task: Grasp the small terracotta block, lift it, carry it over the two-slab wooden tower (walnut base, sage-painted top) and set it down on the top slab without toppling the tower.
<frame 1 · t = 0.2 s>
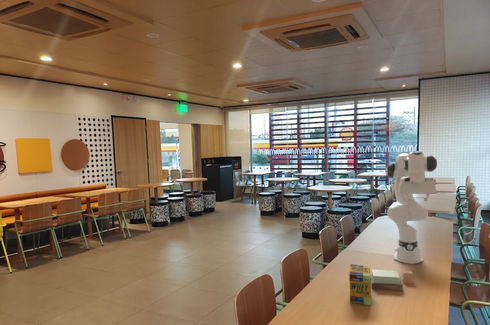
hand: (417, 201, 196), 47 cm above the table, fingers open, 8 cm apart
tower base: (385, 286, 189), on the table, touching tower top
protein box: (360, 298, 176), on the table
tower top: (385, 280, 189), point 3 cm above the table, touching tower base
block: (407, 281, 193), on the table
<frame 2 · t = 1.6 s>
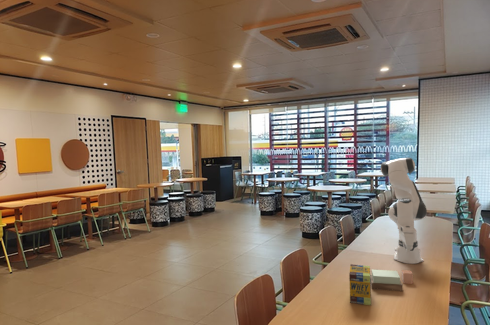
hand: (406, 249, 192), 20 cm above the table, fingers open, 8 cm apart
nothing on the table moved.
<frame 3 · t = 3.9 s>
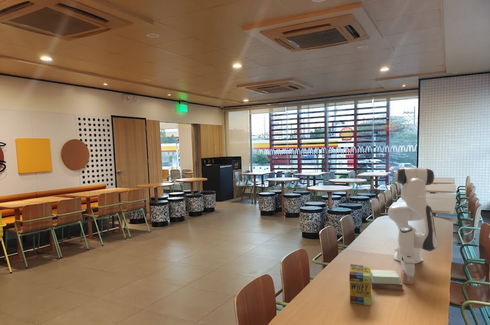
hand: (407, 278, 193), 2 cm above the table, fingers closed on block, 5 cm apart
block: (407, 281, 193), on the table, touching gripper
everything else where it was.
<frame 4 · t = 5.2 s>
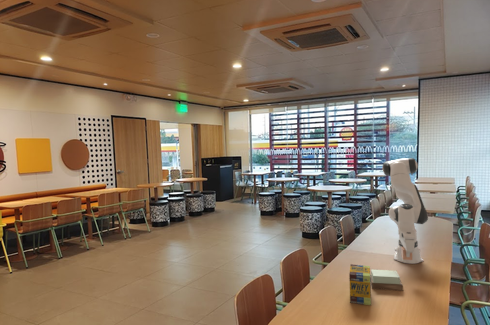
hand: (406, 254, 193), 16 cm above the table, fingers closed on block, 5 cm apart
tower base: (385, 286, 189), on the table
tower top: (385, 279, 189), point 3 cm above the table
block: (406, 258, 193), point 14 cm above the table, touching gripper
everything else where it was.
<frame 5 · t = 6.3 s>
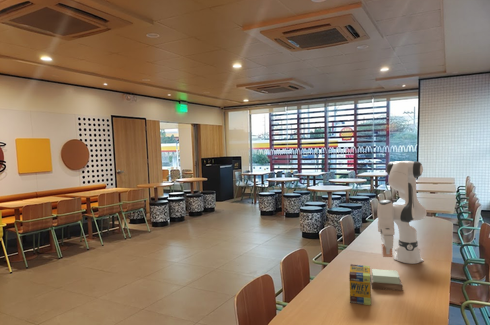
hand: (386, 252, 188), 20 cm above the table, fingers closed on block, 5 cm apart
tower base: (385, 286, 190), on the table, touching tower top
tower top: (385, 279, 189), point 3 cm above the table, touching tower base
block: (387, 255, 188), point 18 cm above the table, touching gripper
everything else where it was.
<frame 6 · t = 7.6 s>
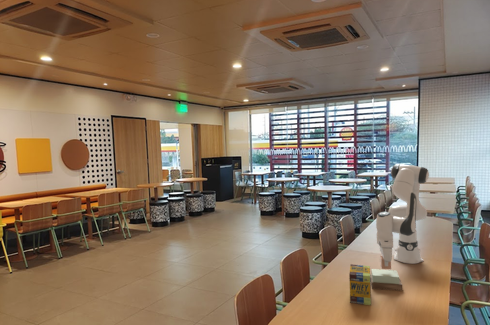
hand: (385, 263, 188), 13 cm above the table, fingers closed on block, 5 cm apart
tower base: (385, 286, 190), on the table
tower top: (384, 279, 189), point 3 cm above the table
block: (385, 267, 188), point 11 cm above the table, touching gripper
everything else where it was.
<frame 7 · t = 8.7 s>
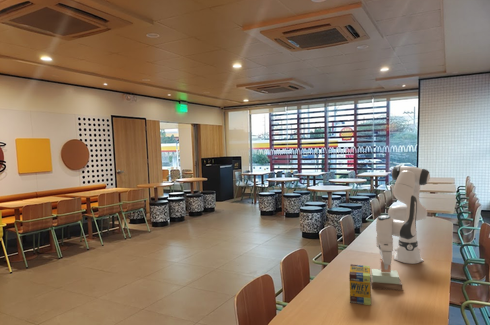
hand: (385, 267, 188), 11 cm above the table, fingers closed on block, 5 cm apart
tower base: (385, 286, 190), on the table, touching tower top
tower top: (385, 279, 189), point 3 cm above the table, touching tower base
block: (385, 270, 189), point 9 cm above the table, touching gripper
everything else where it was.
when the fingers open (11 cm above the table, at t = 8.8 s): block drops 2 cm, point 7 cm above the table.
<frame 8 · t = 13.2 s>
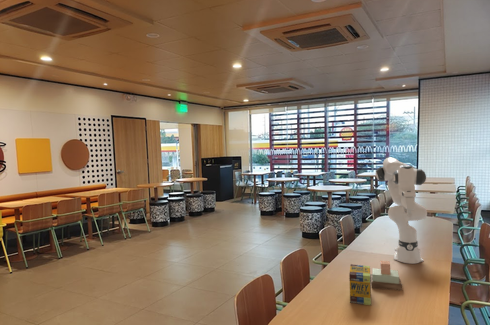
hand: (407, 214, 196), 39 cm above the table, fingers open, 8 cm apart
block: (385, 272, 190), point 7 cm above the table
at the end: block inside the target area on the tower base (0.1 cm from its centre), point 8.1 cm above the tower base's base; tower top tilted 0°; the gripper is holding nothing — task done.
